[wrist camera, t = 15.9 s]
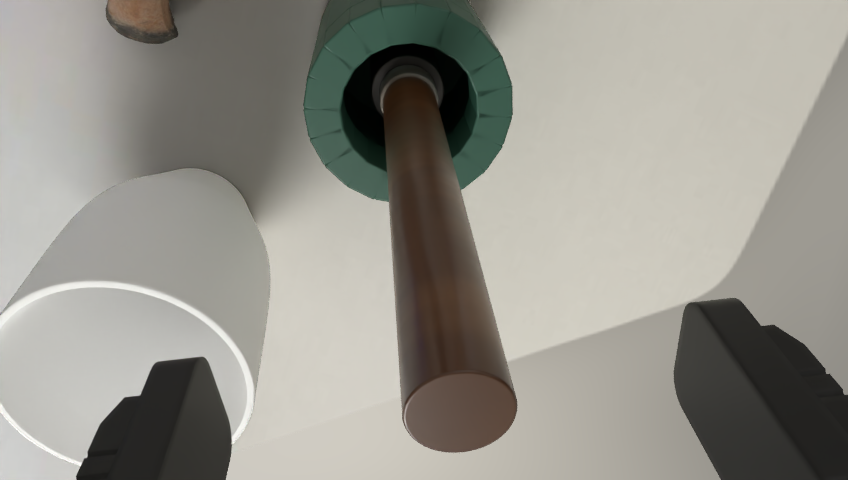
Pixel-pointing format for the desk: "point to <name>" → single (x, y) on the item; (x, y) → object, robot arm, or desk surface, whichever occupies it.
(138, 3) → the oil lamp
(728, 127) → the desk surface
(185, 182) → the mug
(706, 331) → the robot arm
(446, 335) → the brown cylindrical rod
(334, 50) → the green tube
